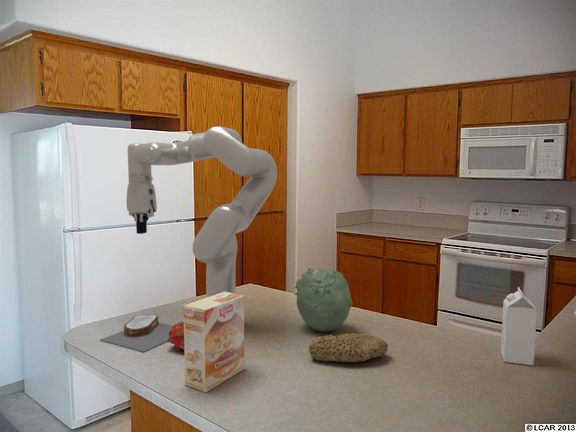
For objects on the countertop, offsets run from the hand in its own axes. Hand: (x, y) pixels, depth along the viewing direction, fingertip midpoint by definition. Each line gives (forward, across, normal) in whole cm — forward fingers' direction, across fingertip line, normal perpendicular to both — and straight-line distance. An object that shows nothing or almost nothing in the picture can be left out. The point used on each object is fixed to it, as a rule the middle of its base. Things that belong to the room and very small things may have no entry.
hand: (141, 233), depth 157 cm
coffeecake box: (+29, -52, +27) cm, 66 cm away
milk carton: (+29, -117, -19) cm, 122 cm away
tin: (+27, -7, +14) cm, 31 cm away
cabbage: (+29, -62, -15) cm, 70 cm away
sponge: (+29, -77, +2) cm, 82 cm away
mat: (+29, -16, +15) cm, 36 cm away
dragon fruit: (+29, -34, +17) cm, 48 cm away
